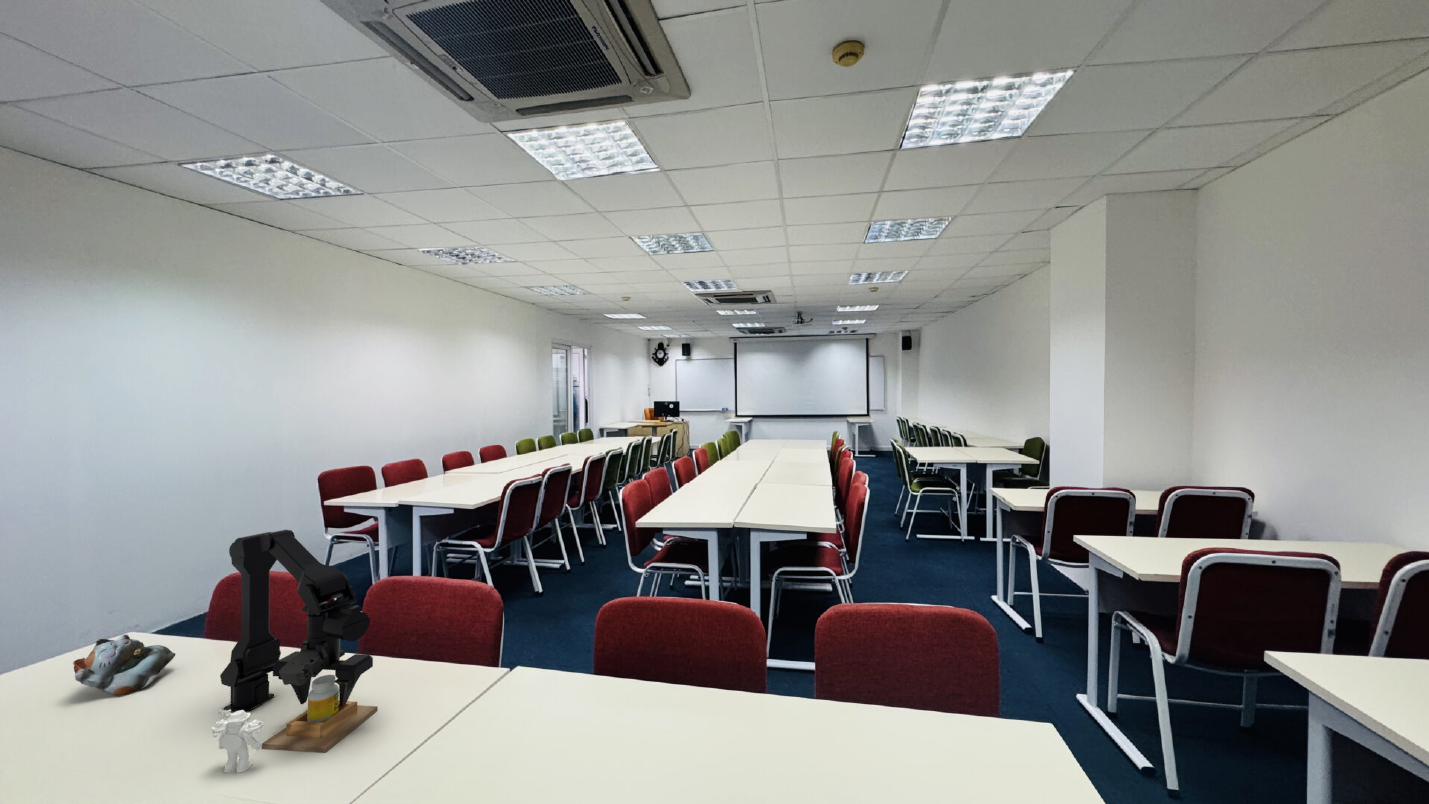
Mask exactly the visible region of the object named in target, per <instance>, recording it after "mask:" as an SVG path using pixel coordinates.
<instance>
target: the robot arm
mask: <svg viewBox="0 0 1429 804" xmlns="http://www.w3.org/2000/svg"><path fill="white" fill-rule="evenodd" d="M228 552H229V553H228V554H229V557H230V558H231V565H232V566H233V567H234V568H235V570H237V571H238V572H239V573H240V578H241V581H240V582H241V585H240V586H241V587H240V588H241V590H240V591H241V594H240V599H241V600H240V601H241V603H240V605H241V606H240V607H241V610H240V616H241V617H240V619H241V620H240V623H241V624H240V625H241V627H240V638H239V640H237V642H236V644H235V645H234V647H233V648H232V650H231V651H230V652H231V653H230V662H228V664H227V665H226V667H225V668H224V670H223V671H222V672H221V673H220V675H219V677H220V683H221V685H223V686H225V687H229V688H230V703H229V704H228V705H225V706H224V707H223V708H222V710H226V711H227V710H231V711H230V712H236V711H240V710H244V711H245V712H246V713H249V712H251V711H252V710H254V709H256V708H257V707H259V706H260V705H262V704H264V703H266V702H267V701H268V700H270V699H272V698H274V697H275V693H270V681H269V673H272V677H278V678H277V679H278V680H280V681H281V682H282V683H283V685H285V686H288V685H290V686H291V687H292V690H293V691H294V693H295V696H296V698H297V699H298V701H299V703H300V705H304V704H306V703H307V702H308V694H309V693H310V689H311V684H312V678H316V677H317V676H319V674H320V673H321V672H322V671H335V674H334V675H335V678H336V679H335V681H334V682H335V684H336V685H337V686H338V687H339V702H340V707H343V706H344V705H345V704H346V702H347V701H349V698H350V696H351V694H352V693H353V691H354V690H353V689H354V688H355V686H356V684H357V682H358V680H359V679H360V677H361V675H363V674H364V673H366V672H368V670H370V669H371V668H373V667H374V658H373V656H372V655H370V654H360V653H359V654H358V653H356V654H353V655H351V656H350V657H348V658H347V659H345V660H344V659H341V657H344V656H345V655H346V649H341V640H343V641H347V642H354V641H355V642H356V641H358V640H359V639H360V638H361V637H363V636H364V635H365V634H366V633H367V631H368V629H369V627H370V623H371V619H370V617H369V615H368V614H367V613H366V612H363V611H361V606H360V605H357V604H356V605H351V604H355V603H356V602H358V599H357V597H356V592H355V590H354V588H353V587H352V585H351V583H350V582H349V579H348V577H347V576H346V575H345V574H344V573H343V571H341V570H340V569H338V568H336V567H335V566H334V565H333V566H332V565H328V564H323V563H321V562H320V561H319V560H318V559H317V558H316V557H315V556H314V555H313V554H312V553H311V552H310V551H309V550H308V549H307V548H306V547H305V546H304V545H303V544H302V543H301V542H300V541H299V540H298V539H297V538H296V536H295V533H294V532H293V530H292V529H282V530H277V531H267V532H262V533H257V534H252V535H247V536H242V537H238V538H236V539H235V540H234V542H232V543H231V545H230V546H229V549H228ZM276 562H279V564H281V565H282V566H283V568H284V569H285V570H286V571H287V572H288V573H289V574H290V575H291V576H292V577H293V578H294V579H295V580H296V582H297V583H298V584H297V588H296V589H297V590H296V591H297V594H298V595H299V597H300V599H301V600H302V602H303V603H304V604H305V605H304V606H303V607H302V608H301V611H302V612H306V613H307V629H306V630H307V631H306V634H307V635H306V638H307V639H306V640H304V641H303V642H301V645H300V650H299V651H298V650H297V651H294V652H291V653H290V654H288V655H285V656H284V657H282V658H281V654H282V652H281V647H280V646H281V640H280V639H279V638H276V637H275V636H274V635H273V634H272V633H271V632H270V571H271V569H272V568H273V567H274V564H276ZM342 596H343V597H342ZM334 599H335V600H334ZM331 600H332V601H331ZM340 659H341V660H340Z"/></svg>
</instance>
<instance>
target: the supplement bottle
mask: <svg viewBox="0 0 1429 804" xmlns="http://www.w3.org/2000/svg"><path fill="white" fill-rule="evenodd" d="M335 680H336V676H335V674H325V675H321V676H318V677H317V678H316V677H315V679H313V681H311V691H309V694H308V698H307V709H308V712H307V722H320V723H325V722H326V721H327V720H329V719H330V718H331V717H333V716H334V715H336V714H337V713H338V708H339V705H338V704H339V685H338V684H337V683H335V682H334V681H335Z"/></svg>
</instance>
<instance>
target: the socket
mask: <svg viewBox="0 0 1429 804" xmlns="http://www.w3.org/2000/svg"><path fill="white" fill-rule="evenodd" d="M338 705H339V708H338V713H337V714H336V715H334V716H333V717H331V718H330V719H329V720H327V721H326V722H325V723H320V722H307V712H308V708H307V709H306V710H305V711H303V712H302V713H300V714H298V715H297V716H296V717H294V718H293V719H292V720H290V721H288V722H287V723H286V726H285V727H284V728H282V729H281V730H280V731H278V732H277V733H275V734H273V735H272V736H271V737H269V738H268V739H266V740H265V741H263V742H262V746H261V749H262V750H277V751H294V752H308V753H309V752H310V753H321V754H322V753H323V754H326V753H327V752H328V751H330V750H331V749H332V748H333V747H334V746H335V745H337V744H338V743H339V742H341V741H342V740H343V739H345V738H346V737H347V736H348V735H349V734H351V733H352V732H353V731H354V730H356V729H357V728H358V727H359V726H361V725H362V724H363V723H364V722H366V721H367V720H368V719H369V718H370V717H372V716H373V715H374V714H375V713H377V712H378V711H379V710H378V706H374V705H359V704H358V701H349V700H347V702H346V704H345V705H344V706H343V707H340V702H339V704H338Z"/></svg>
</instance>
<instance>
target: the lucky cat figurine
mask: <svg viewBox="0 0 1429 804" xmlns="http://www.w3.org/2000/svg"><path fill="white" fill-rule="evenodd" d="M175 656H176V653H175V652H173V650H170V648H168V647H167V646H164V645H160V644H155V645H147V646H145V644H144V642H142V641H140V640H138V639H134V638H133V639H132V638H130V636H129V635H128V634H125V633H124V634H121V635H120V636H119V637H118V638H117V639H116V640H114V639H106V638H100V639H97V640H96V641H95V645H94V647H93V649H92V650H91V651H90V653H89V654H88V655H87V657H82V658H78V659H76V660H74V661H73V662H72V664H73V672H74V673H75V674H74V678H75V681H77V682H79V683H81V685H84V686H89V687H91V688H95V689H98V690H102V691H105V692H108V693H110V694H111V695H112V696H117V697H123V696H126V695H129V694H133V693H137V692H141V691H142V689H143V688H144V689H145V688H146V687H147V686H148V685H150V684H151V683H152V682H154V681H155V680H156V679H157V677H158V676H159V674H160V673H161V672H162V671H163V669H164V668H165V667H166V666H168V664H170V663H171V661H173V659H174V658H175Z"/></svg>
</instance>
